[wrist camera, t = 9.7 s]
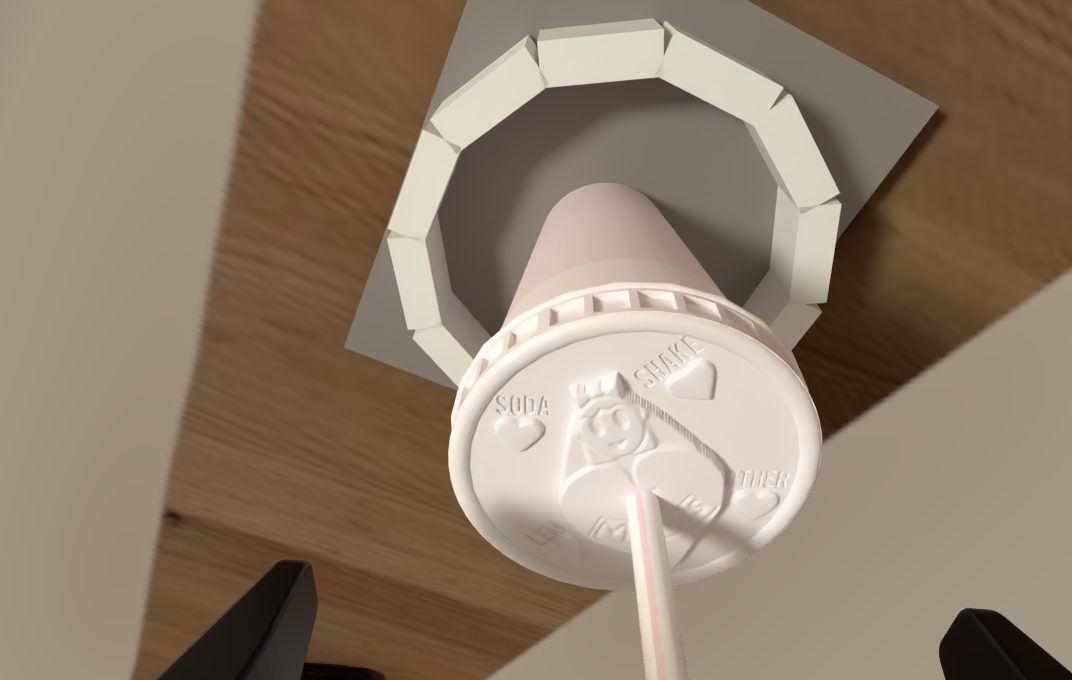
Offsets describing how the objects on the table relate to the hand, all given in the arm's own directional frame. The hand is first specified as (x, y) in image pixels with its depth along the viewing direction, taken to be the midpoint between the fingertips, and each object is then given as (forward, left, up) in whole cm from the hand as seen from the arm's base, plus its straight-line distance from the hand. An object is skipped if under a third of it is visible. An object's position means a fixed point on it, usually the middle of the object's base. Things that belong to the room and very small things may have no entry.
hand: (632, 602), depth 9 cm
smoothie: (0, 0, -12) cm, 12 cm away
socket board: (0, 0, -13) cm, 13 cm away
